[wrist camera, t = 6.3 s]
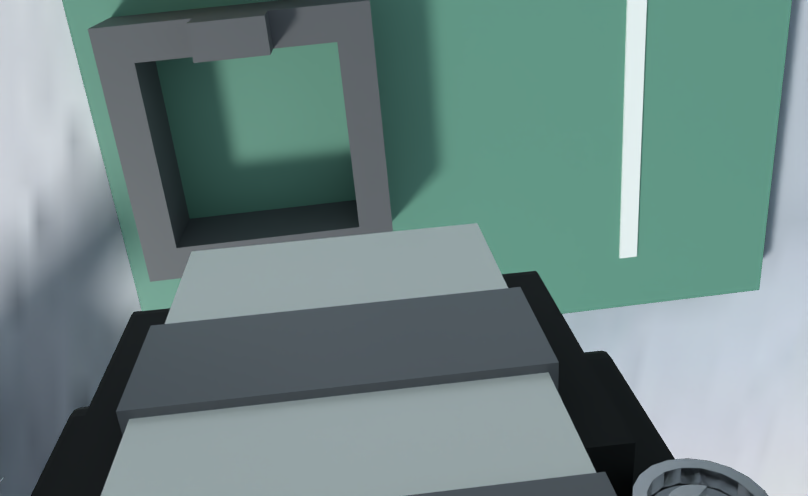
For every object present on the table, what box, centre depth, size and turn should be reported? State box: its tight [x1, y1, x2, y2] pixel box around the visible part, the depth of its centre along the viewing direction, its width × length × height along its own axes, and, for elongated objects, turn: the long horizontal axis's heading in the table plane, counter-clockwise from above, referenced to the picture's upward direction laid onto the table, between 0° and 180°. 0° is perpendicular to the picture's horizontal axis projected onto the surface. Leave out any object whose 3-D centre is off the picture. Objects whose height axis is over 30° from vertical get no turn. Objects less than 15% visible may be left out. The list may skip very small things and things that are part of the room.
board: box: [62, 0, 792, 314], centre depth 24 cm, size 16×22×5 cm
